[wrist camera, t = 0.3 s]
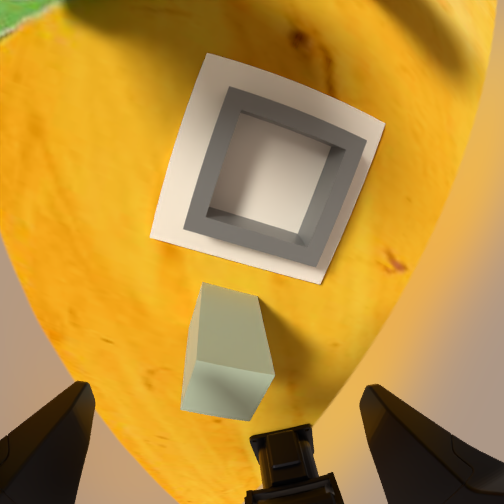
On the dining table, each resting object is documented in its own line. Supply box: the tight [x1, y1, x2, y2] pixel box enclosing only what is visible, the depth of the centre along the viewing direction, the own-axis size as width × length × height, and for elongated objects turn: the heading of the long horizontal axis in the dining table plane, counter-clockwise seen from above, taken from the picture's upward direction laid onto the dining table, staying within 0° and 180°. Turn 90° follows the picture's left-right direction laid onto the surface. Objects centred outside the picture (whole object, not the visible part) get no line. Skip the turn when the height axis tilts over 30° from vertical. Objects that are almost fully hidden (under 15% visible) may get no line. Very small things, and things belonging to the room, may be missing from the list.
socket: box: [150, 53, 385, 284], centre depth 18 cm, size 12×12×3 cm
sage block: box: [180, 282, 275, 421], centre depth 19 cm, size 4×4×8 cm
